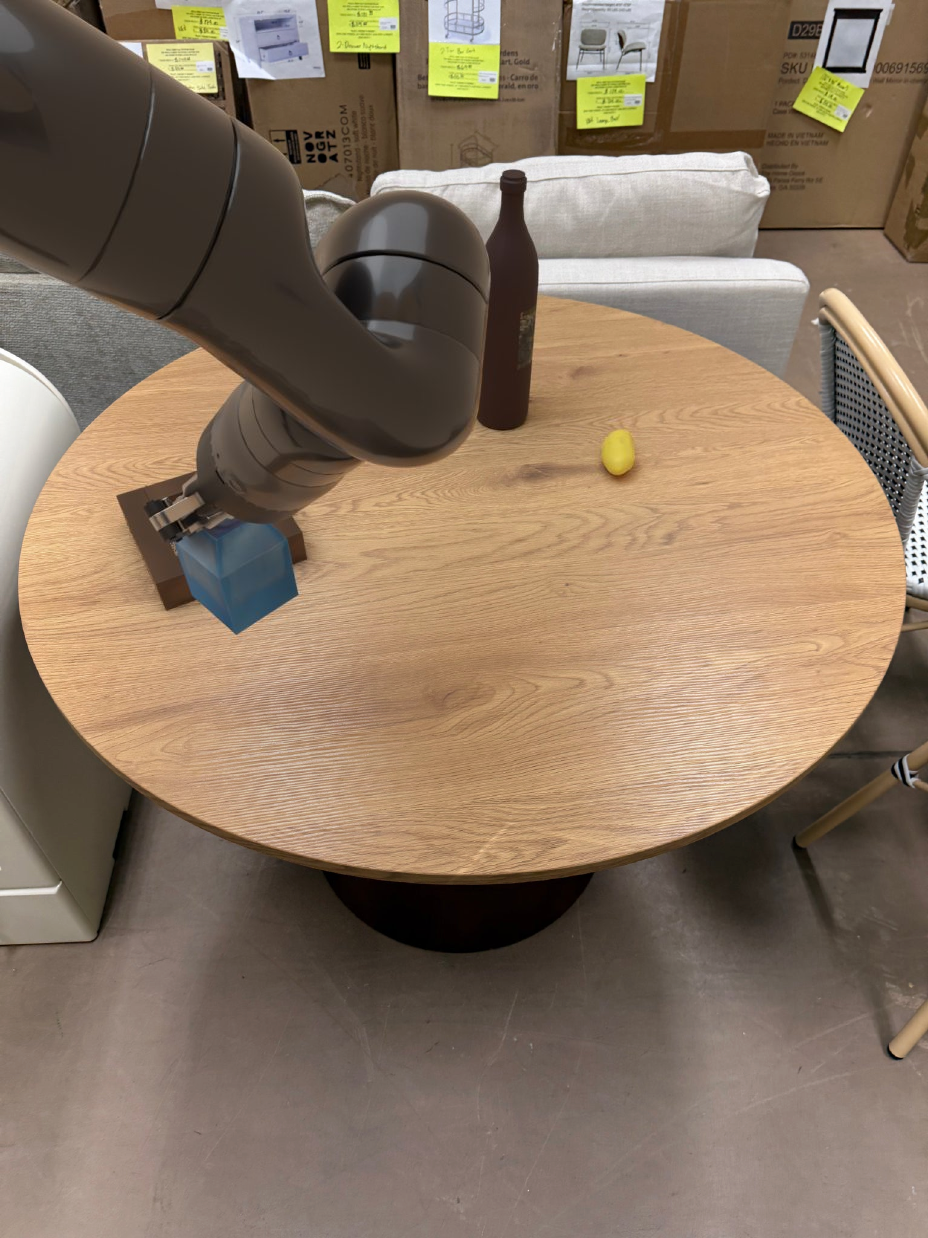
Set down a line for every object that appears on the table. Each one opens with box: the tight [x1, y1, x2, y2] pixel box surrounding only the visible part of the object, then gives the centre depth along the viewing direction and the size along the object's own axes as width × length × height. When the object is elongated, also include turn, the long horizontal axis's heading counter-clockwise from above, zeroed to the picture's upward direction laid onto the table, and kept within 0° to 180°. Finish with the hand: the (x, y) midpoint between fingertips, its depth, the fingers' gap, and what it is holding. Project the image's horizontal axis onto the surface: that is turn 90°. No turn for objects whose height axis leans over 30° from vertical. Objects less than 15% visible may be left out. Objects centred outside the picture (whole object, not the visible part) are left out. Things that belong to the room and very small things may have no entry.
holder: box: [115, 470, 308, 611], centre depth 90 cm, size 16×16×4 cm
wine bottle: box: [476, 168, 540, 430], centre depth 97 cm, size 7×7×30 cm
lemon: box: [600, 429, 636, 476], centre depth 100 cm, size 4×8×4 cm, turn 167°
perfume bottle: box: [173, 472, 299, 636], centre depth 63 cm, size 6×6×12 cm
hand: (210, 508), depth 62 cm, fingers closed on perfume bottle, 4 cm apart
